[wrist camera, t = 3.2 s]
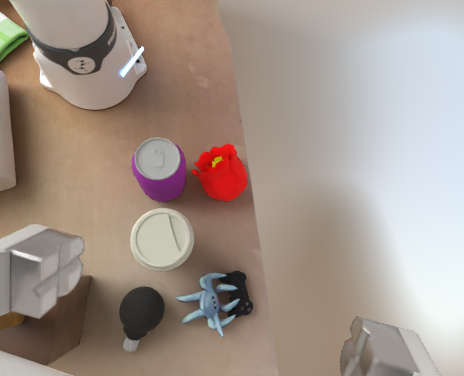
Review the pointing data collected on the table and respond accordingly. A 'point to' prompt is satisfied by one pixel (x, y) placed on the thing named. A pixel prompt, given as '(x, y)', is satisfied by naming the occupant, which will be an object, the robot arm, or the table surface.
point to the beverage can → (160, 169)
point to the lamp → (46, 328)
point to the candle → (6, 139)
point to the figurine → (210, 300)
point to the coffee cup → (162, 239)
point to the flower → (221, 173)
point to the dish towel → (10, 35)
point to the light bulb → (140, 314)
